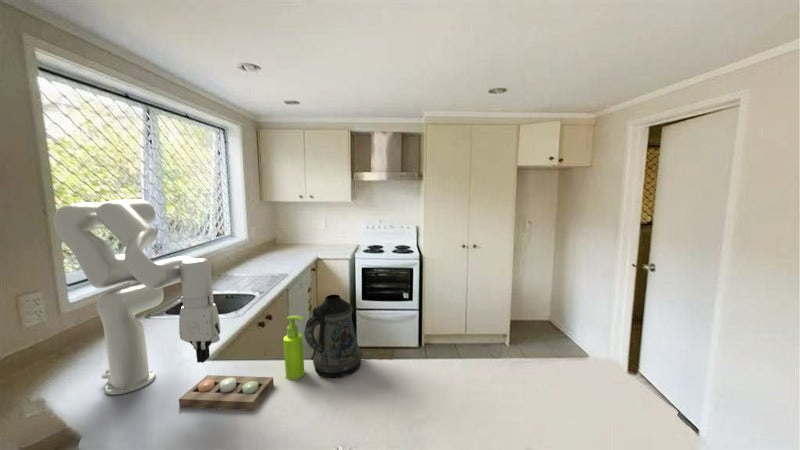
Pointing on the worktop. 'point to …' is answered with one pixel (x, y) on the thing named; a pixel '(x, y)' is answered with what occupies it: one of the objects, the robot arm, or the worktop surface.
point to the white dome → (228, 385)
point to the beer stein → (333, 339)
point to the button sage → (250, 387)
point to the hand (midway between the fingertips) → (203, 360)
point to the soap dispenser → (293, 350)
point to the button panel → (226, 394)
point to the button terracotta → (206, 386)
